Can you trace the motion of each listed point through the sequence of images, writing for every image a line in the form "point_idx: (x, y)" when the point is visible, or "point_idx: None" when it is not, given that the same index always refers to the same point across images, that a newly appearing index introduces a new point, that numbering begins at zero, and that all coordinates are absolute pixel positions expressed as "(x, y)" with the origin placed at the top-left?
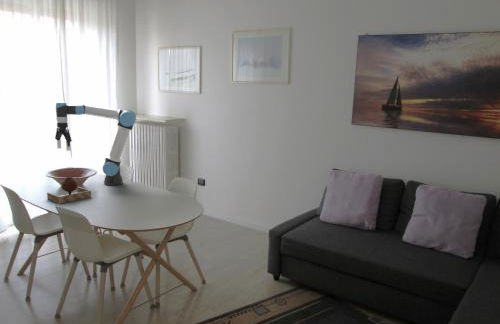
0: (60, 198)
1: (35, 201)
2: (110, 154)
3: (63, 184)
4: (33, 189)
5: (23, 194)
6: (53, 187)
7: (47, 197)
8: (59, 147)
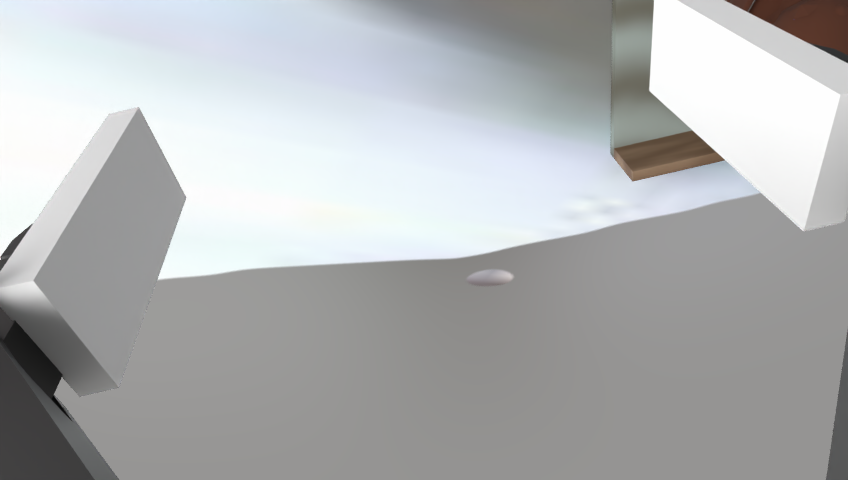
0: None
1: (596, 224)
2: None
3: None
4: (228, 181)
5: (359, 258)
6: (227, 15)
7: (617, 161)
8: (160, 172)
